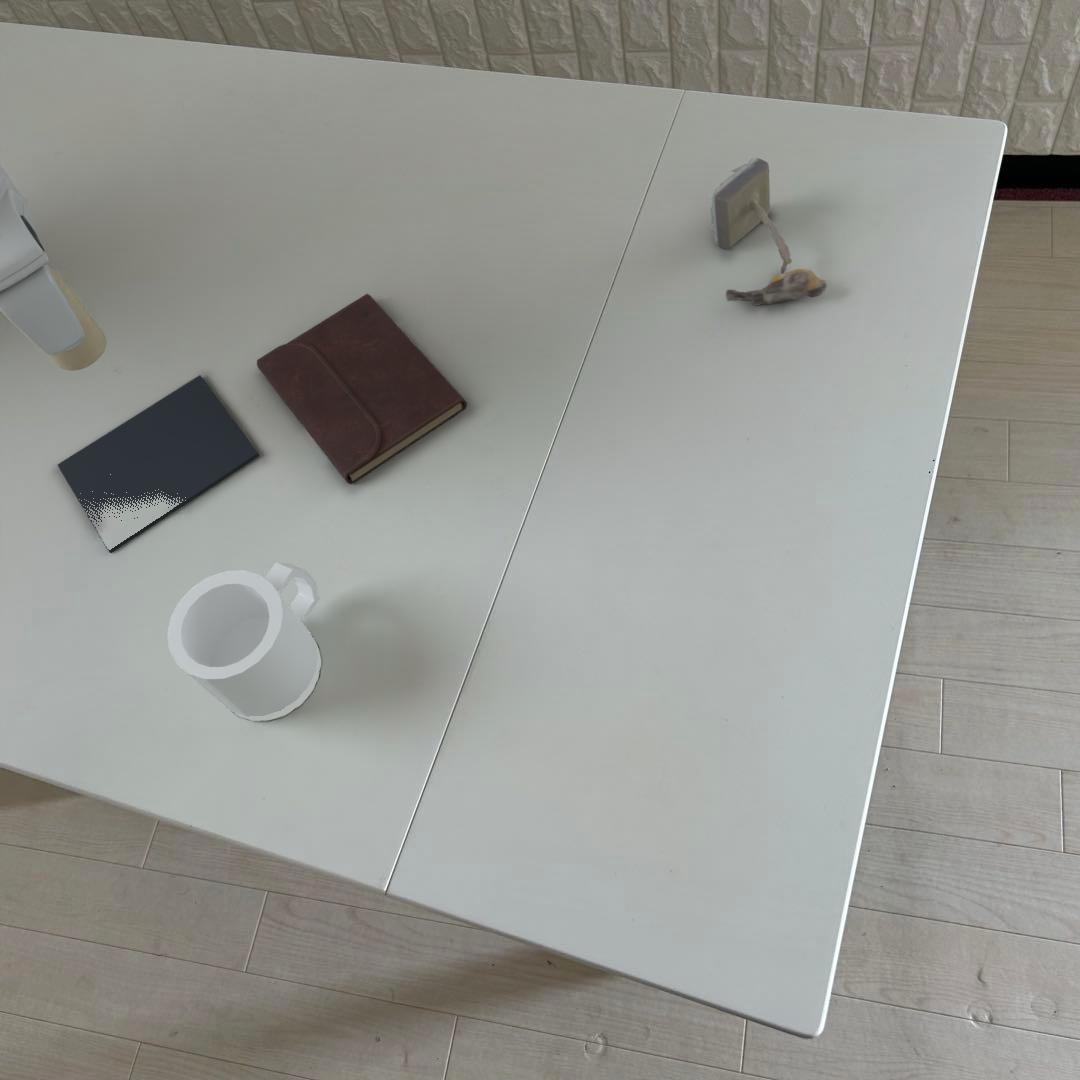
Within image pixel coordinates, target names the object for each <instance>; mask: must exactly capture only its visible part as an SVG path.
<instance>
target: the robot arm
mask: <svg viewBox="0 0 1080 1080" xmlns="http://www.w3.org/2000/svg"><path fill="white" fill-rule="evenodd" d="M48 262H49V256H48V255H47V253H46V249H45V248H44V246H43V244H42V243H41V241H40V238H39V237H38V234H37V233H36V230H35V226H34V221H33V218H32V215H31V206H30V203H29V202H28V200H27V199H26V197H25V196H24V195H23V193H22V192H21V191H20V189H19V188H18V187H17V185H16V184H15V182H14V180H12V178H11V177H10V176H9V174H8V173H7V172H6V170H5V168H3V166H2V164H0V312H1V313H2V314H3V315H4V316H5V317H6V318H7V319H8V320H9V321H10V322H11V324H13V325H14V326H15V327H16V328H17V329H18V330H19V331H20V332H21V333H22V334H23V335H24V336H25V337H27V339H29V340H30V342H31V343H33V344H34V345H35V346H36V347H37V348H38V349H39V350H41V352H43V353H44V354H46V355H47V354H48V355H51V356H56V355H58V354H60V353H62V352H64V351H69V350H71V349H73V348H74V347H76V346H77V345H79V344H80V342H81V340H82V339H83V338H84V336H85V335H84V331H83V328H82V326H81V324H80V322H79V320H78V318H77V317H76V315H75V313H74V312H73V310H72V308H71V306H70V305H69V303H68V301H67V300H66V298H65V296H64V295H63V293H62V291H61V290H60V288H59V286H58V285H57V283H56V281H55V279H54V278H53V276H52V274H51V272H50V270H49V269H48V268H49V267H48V265H47V263H48ZM48 355H47V356H48Z"/></svg>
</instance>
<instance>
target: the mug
mask: <svg viewBox="0 0 1080 1080" xmlns="http://www.w3.org/2000/svg"><path fill="white" fill-rule="evenodd" d="M292 579H293V580H294V582H295V585H296V589H297V590H296V591H297V594H296V595H295V597H294V598H293V599H292V601H291V602H290V605H289V604H288V603H287V601H286V600H285V599H284V597H283V596H282V593H283V592H284V590H285V589H286V587H287V586H288V585H289V583H290V581H292ZM319 600H320V596H319V591H318V585H317V581H316V580H315V579H314V578H313V577H312V575H311V574H310V573H309V572H308V570H306V569H304V568H301V567H299V566H297V565H294V564H292V563H288V562H279V561H275V562H274V564H273V565H272V566H271V568H270V570H269V571H268V572H267V573H266V575H265V577H263V576H262V575H260V574H258V573H254V572H251V571H248V570H244V569H241V570H225V571H222V572H219V573H215V574H213V575H209V576H207V577H205V578H204V579H202V580H201V581H199V582H198V583H196V584H195V585H193V586H192V587H191V588H190V589H189V590H188V591H187V592H186V593H185V594H184V595H183V596H182V597H181V598H180V600H179V601H178V602H177V604H176V606H175V607H174V610H173V612H172V613H171V615H170V616H169V617H170V618H169V623H168V628H167V632H166V637H167V646H168V652H169V653H170V655H171V656H172V659H173V660H174V663H175V664H176V665H177V666H178V667H179V668H180V669H181V670H182V671H184V672H185V673H186V674H187V675H188V676H189V677H190V678H192V679H193V680H194V681H195V682H196V683H197V684H198V685H199V686H201V687H202V688H203V689H204V690H205V691H207V692H208V693H209V694H210V695H211V696H212V697H214V699H216V700H217V701H218V702H219V703H220V702H221V703H220V704H221V705H223V706H224V707H225V706H226V707H227V708H228V709H227V708H226V707H225V708H226V709H227V710H229V712H231V711H232V712H234V713H238V714H241V715H244V716H247V717H249V716H265V715H268V714H271V713H274V712H277V711H281V710H282V709H284V708H285V707H286V706H288V705H290V704H291V703H293V702H294V701H296V700H297V699H298V698H299V697H300V695H301V694H302V693H303V692H304V691H305V690H306V689H307V687H308V686H309V684H310V682H311V680H312V678H313V676H314V674H315V672H316V666H317V660H318V652H317V647H316V642H317V641H316V642H315V640H316V639H315V637H314V636H313V634H312V633H311V631H310V630H309V629H308V628H307V626H306V625H305V624H304V623H305V622H306V620H307V619H308V618H309V616H310V614H311V613H312V612H313V610H314V609H315V607H316V605H317V604H318V602H319ZM309 631H310V632H309ZM311 634H312V635H311ZM312 636H313V637H314V638H313V637H312ZM314 639H315V640H314ZM232 712H231V713H232ZM234 713H233V714H234Z"/></svg>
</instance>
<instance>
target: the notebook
mask: <svg viewBox="0 0 1080 1080" xmlns="http://www.w3.org/2000/svg"><path fill="white" fill-rule="evenodd" d="M256 366H257V368H258V370H259V371H260V372H261V373H262V375H263V376H264V377H265V379H266V380H267V381H268V383H269V384H270V385H271V387H272V388H273V389H274V390H275V392H276V393H277V394H278V395H279V397H280V398H281V399H282V401H283V402H284V403H285V405H286V406H287V407H288V409H289V410H290V411H291V412H292V413H293V415H294V416H295V418H296V419H297V420H298V421H299V423H300V424H301V425H302V426H303V428H304V429H305V430H306V432H307V433H308V434H309V435H310V437H311V438H312V439H313V441H314V442H315V443H316V445H317V446H318V447H319V448H320V450H321V451H322V452H323V454H324V455H325V457H327V459H328V460H329V461H330V463H331V465H333V467H334V468H335V469H336V470H337V472H338V473H339V475H340V476H341V477H342V478H343V479H344V481H345V482H346V483H347V484H349V485H353V484H355V483H356V482H358V481H359V480H360V479H362V478H364V477H366V476H367V475H368V474H370V473H371V472H372V471H375V470H376V469H377V468H379V467H380V466H382V465H384V464H385V463H386V462H389V461H390V460H391V459H392V458H394V457H395V456H396V455H399V454H400V453H402V452H403V451H404V450H406V449H407V448H409V447H410V446H412V445H413V444H415V443H416V442H418V441H420V440H421V439H422V438H424V437H425V436H428V434H430V433H431V432H433V431H434V430H436V429H438V428H439V427H441V426H442V425H444V424H445V423H447V422H448V421H450V420H451V419H453V418H454V417H456V416H457V415H459V414H460V413H461V412H463V411H465V410H466V409H467V407H468V402H467V400H466V399H464V397H463V396H462V395H461V394H460V392H458V390H456V388H455V387H454V386H453V385H452V384H451V383H450V382H449V380H447V379H446V377H445V376H444V375H443V374H442V373H441V372H440V370H438V369H437V367H436V366H435V365H434V364H433V363H432V362H431V361H430V360H429V358H428V357H426V355H425V354H424V353H423V352H422V351H421V349H419V347H418V346H417V345H416V344H415V343H414V342H413V340H411V339H410V338H409V336H408V335H407V334H406V333H405V332H404V331H403V330H402V329H401V328H400V327H399V325H398V324H397V323H396V322H395V321H394V320H393V319H392V317H390V315H389V314H388V313H387V312H386V311H385V310H384V309H383V308H382V307H381V305H380V304H378V302H377V301H376V300H375V299H374V298H373V297H372V295H370V294H368V293H365V294H364V295H362V296H360V297H359V298H357V299H356V300H354V301H353V302H351V303H350V304H348V305H346V306H345V307H343V308H341V309H339V310H338V311H336V312H335V313H333V314H332V315H330V316H328V317H327V318H325V319H324V320H322V321H321V322H319V323H317V324H316V325H313V326H312V327H310V328H309V329H308V330H306V331H305V332H303V333H301V334H300V335H298V336H296V337H295V338H293V339H291V340H290V341H288V342H287V343H284V344H281V345H279V346H277V347H275V348H274V349H272V350H270V351H268V352H267V353H266V354H264V355H262V356H261V357H259V358H258V359H256Z"/></svg>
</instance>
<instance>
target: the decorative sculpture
mask: <svg viewBox="0 0 1080 1080" xmlns="http://www.w3.org/2000/svg"><path fill="white" fill-rule="evenodd" d="M731 172H732V174H731V175H730V176H728V177H727V178H726V179H725V180H724V181H722V182H721V183H720V184H719V186H718V187H716V188H715V189H714V192H713V194H712V196H711V206H710V217H711V224H712V227H711V230H710V232H711V234H712V239H713V241H714V242H715V244H716V245H717V246H718V247H720V248H721V249H723V250H729V249H730V248H732V247H733V246H734V245H736V244H737V243H738V242H739V241H740V240H742V239H743V238H744V237H745V236H747V234H749V233H750V232H752V230H753V229H754V228H756V227H757V226H758V225H759V224H760V223H761V222H762V224H764V225H765V227H766V228H767V229H768V230H769V232H770V234H771V236H772V238H773V240H774V242H775V244H776V246H777V248H778V253H779V255H780V258H781V259H782V261H783V262H782V265H781V267H780V273H779V274H776V275H775V276H774V277H772V278H771V279H770V281H769V282H768V283H767V285H766V286H765V287H762V288H761V289H755V290H748V291H738V290H736V289H727V290H726V291H725V298H726V301H728V302H730V301H734V302H736V301H742V302H751V303H752V304H753V305H754V306H760V305H763V304H767V305H774V304H778V303H782V302H784V301H788V300H798V299H803V298H805V297H809V298H816V297H819V296H821V295H823V294H824V293H825V292H826V290H827V288H828V287H827V286H828V285H827V282H828V281H827V280H825V279H820V278H819V277H817V275H816V274H815V273H814V272H813V271H812V270H810V269H804V268H798V269H794V270H791V271H789V272H787V269H788V265H790V264H791V263H792V261H793V260H792V258H791V251H790V247H789V246H788V245H787V244H786V241H785V239H784V238H783V237H782V235H780V233H779V231H778V229H777V228H776V226H775V224H774V223H773V221H772V220H771V219H770V217H769V215H770V212H771V202H770V201H771V199H770V197H771V196H770V195H771V194H770V193H771V191H770V166H769V162H767V161H766V160H764V159H761V158H758V157H754V158H751V159H750V160H749V161H748V163H744V164H742V165H741V166H738V167H736V168H733V169H731Z"/></svg>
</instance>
